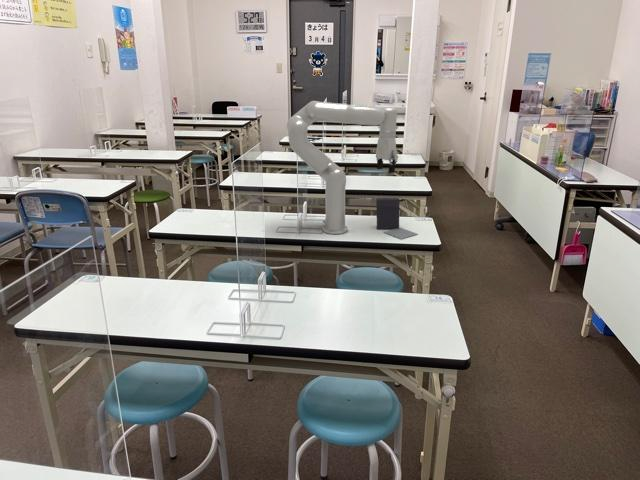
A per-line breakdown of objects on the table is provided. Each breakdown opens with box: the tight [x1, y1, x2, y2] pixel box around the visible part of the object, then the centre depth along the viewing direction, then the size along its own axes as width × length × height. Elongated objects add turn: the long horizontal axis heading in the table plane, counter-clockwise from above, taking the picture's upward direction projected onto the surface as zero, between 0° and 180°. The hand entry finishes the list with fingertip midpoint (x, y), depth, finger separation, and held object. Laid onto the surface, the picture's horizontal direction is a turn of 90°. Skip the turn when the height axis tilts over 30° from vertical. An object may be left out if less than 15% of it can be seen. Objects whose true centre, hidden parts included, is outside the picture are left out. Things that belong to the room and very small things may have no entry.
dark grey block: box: [375, 197, 400, 230], centre depth 234 cm, size 11×4×15 cm, turn 84°
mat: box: [383, 227, 419, 241], centre depth 228 cm, size 12×11×1 cm
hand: (385, 170), depth 230 cm, fingers open, 9 cm apart
